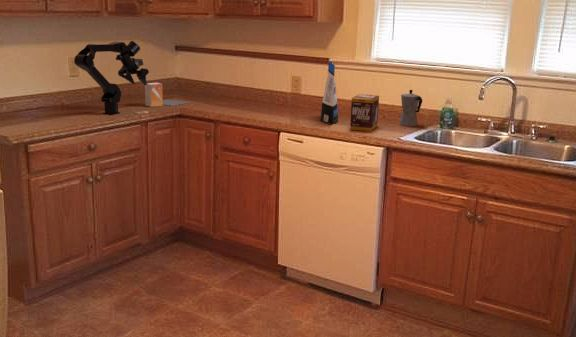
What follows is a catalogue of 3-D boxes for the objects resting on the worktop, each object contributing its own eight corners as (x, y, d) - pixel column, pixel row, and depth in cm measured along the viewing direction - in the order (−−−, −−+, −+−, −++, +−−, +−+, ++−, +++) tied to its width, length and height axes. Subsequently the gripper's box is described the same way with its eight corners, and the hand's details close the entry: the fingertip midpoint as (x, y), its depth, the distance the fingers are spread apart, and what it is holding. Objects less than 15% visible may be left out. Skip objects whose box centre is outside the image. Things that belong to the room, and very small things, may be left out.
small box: (151, 107, 344) (150, 84, 341) (145, 105, 349) (144, 83, 345) (163, 105, 350) (162, 83, 346) (157, 104, 354) (156, 82, 351)
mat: (171, 106, 349) (171, 105, 349) (148, 103, 358) (148, 102, 357) (189, 102, 362) (189, 102, 362) (166, 99, 371) (166, 99, 371)
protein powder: (323, 124, 303) (325, 65, 295) (317, 116, 327) (319, 60, 319) (341, 124, 304) (344, 65, 296) (335, 116, 327) (337, 60, 319)
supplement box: (349, 129, 293) (351, 97, 289) (357, 124, 307) (359, 93, 303) (370, 131, 289) (372, 99, 285) (377, 125, 303) (379, 95, 299)
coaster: (141, 114, 321) (141, 113, 321) (131, 113, 325) (131, 112, 324) (150, 112, 327) (150, 111, 327) (141, 111, 330) (141, 110, 330)
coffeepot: (393, 123, 311) (395, 88, 306) (407, 121, 315) (409, 87, 310) (412, 128, 298) (415, 92, 293) (426, 127, 302) (429, 91, 297)
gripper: (148, 53, 326) (160, 76, 336) (123, 52, 335) (136, 74, 346) (136, 66, 320) (149, 89, 330) (111, 64, 329) (124, 86, 340)
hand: (139, 84), depth 337 cm, fingers open, 9 cm apart
